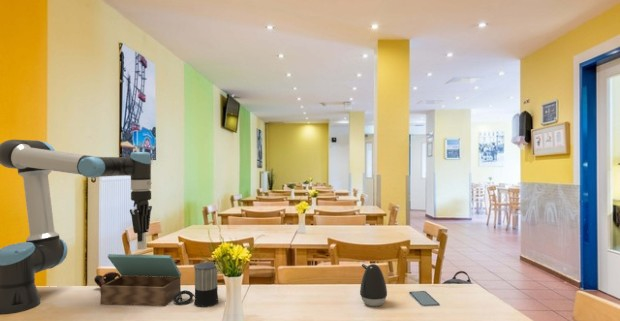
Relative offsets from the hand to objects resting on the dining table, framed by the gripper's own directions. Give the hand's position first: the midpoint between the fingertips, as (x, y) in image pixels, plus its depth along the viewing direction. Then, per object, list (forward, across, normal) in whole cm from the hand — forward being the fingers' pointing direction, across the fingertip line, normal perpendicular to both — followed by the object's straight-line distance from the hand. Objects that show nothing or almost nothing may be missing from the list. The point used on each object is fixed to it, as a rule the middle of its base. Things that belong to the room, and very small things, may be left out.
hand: (141, 249), depth 159 cm
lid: (+8, +2, 0) cm, 8 cm away
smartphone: (+21, +9, -112) cm, 114 cm away
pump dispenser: (+20, +2, -92) cm, 94 cm away
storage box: (+20, 0, 0) cm, 20 cm away
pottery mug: (+20, +11, +21) cm, 31 cm away
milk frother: (+20, -2, -23) cm, 31 cm away
